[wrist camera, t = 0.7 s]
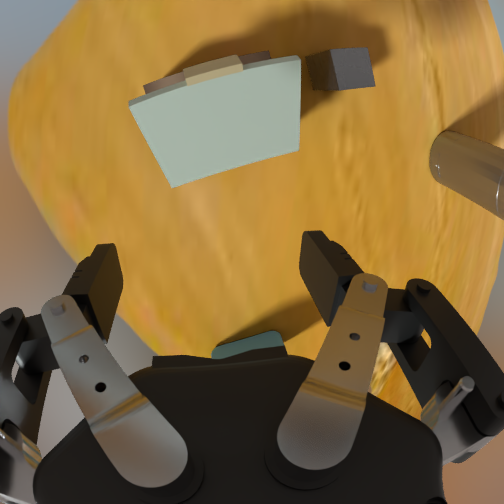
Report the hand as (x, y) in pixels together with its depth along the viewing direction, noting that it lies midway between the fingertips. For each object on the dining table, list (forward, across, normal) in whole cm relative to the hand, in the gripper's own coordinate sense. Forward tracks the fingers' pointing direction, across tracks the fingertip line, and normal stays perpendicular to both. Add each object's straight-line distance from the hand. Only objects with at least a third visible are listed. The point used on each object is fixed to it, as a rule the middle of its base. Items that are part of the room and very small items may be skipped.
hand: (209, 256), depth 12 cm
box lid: (+15, -2, -5) cm, 16 cm away
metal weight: (+24, -14, -10) cm, 30 cm away
